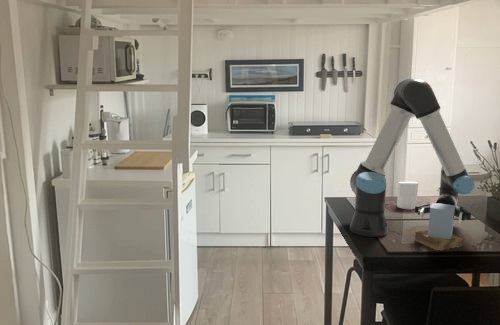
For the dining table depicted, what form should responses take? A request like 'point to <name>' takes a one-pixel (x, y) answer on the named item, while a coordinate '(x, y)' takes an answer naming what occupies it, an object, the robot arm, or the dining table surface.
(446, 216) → the slate block
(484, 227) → the dining table surface
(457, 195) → the robot arm
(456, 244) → the walnut block
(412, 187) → the white cylinder
